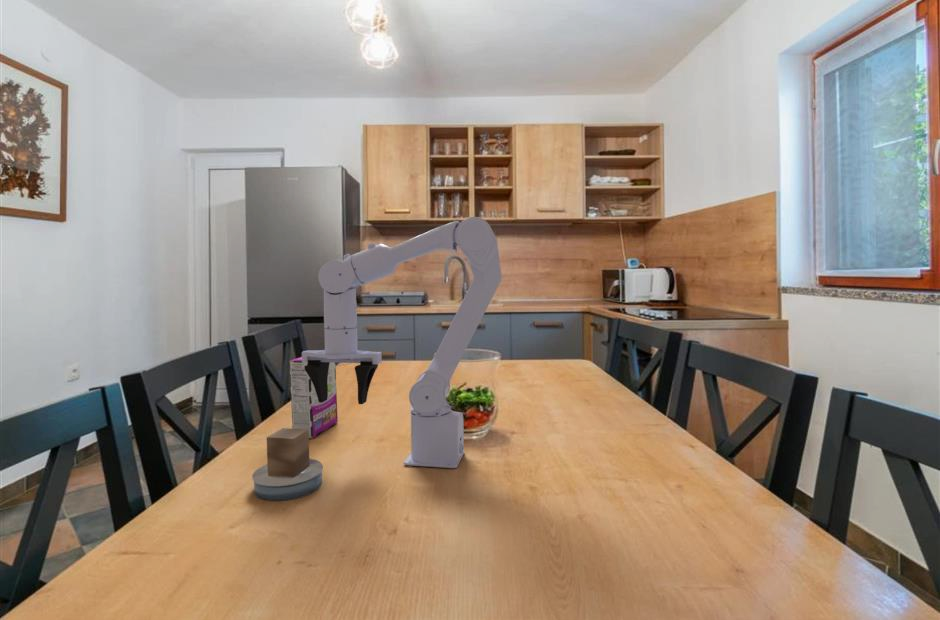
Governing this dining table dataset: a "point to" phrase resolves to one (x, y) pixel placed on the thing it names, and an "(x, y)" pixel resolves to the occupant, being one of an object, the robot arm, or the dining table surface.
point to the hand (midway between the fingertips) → (342, 402)
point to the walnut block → (288, 452)
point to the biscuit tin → (287, 483)
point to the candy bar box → (311, 400)
